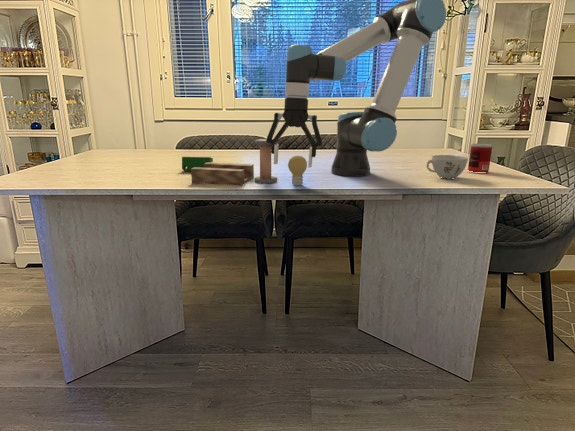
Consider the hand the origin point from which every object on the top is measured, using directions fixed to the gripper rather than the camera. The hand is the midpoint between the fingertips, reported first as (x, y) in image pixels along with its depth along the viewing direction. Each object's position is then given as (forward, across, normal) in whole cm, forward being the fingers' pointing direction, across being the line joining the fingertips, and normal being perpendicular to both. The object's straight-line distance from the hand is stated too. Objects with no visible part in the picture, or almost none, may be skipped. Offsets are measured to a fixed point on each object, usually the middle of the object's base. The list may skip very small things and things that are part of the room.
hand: (292, 165), depth 135 cm
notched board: (+8, +25, -2) cm, 26 cm away
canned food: (+3, -68, -43) cm, 80 cm away
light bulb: (+7, -2, -1) cm, 7 cm away
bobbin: (+7, +10, -4) cm, 13 cm away
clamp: (+9, +42, -18) cm, 47 cm away
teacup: (+4, -53, -27) cm, 59 cm away
